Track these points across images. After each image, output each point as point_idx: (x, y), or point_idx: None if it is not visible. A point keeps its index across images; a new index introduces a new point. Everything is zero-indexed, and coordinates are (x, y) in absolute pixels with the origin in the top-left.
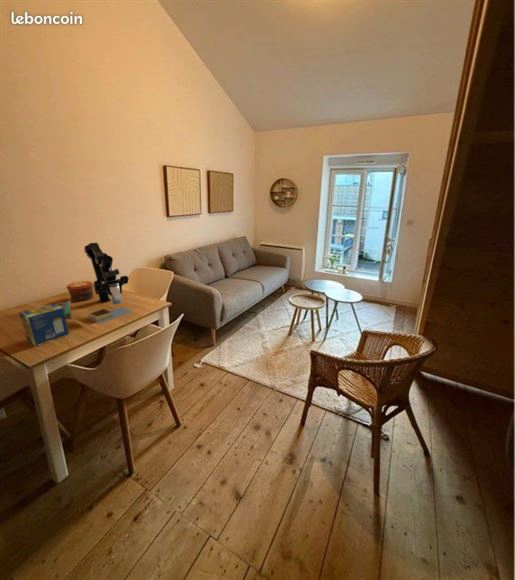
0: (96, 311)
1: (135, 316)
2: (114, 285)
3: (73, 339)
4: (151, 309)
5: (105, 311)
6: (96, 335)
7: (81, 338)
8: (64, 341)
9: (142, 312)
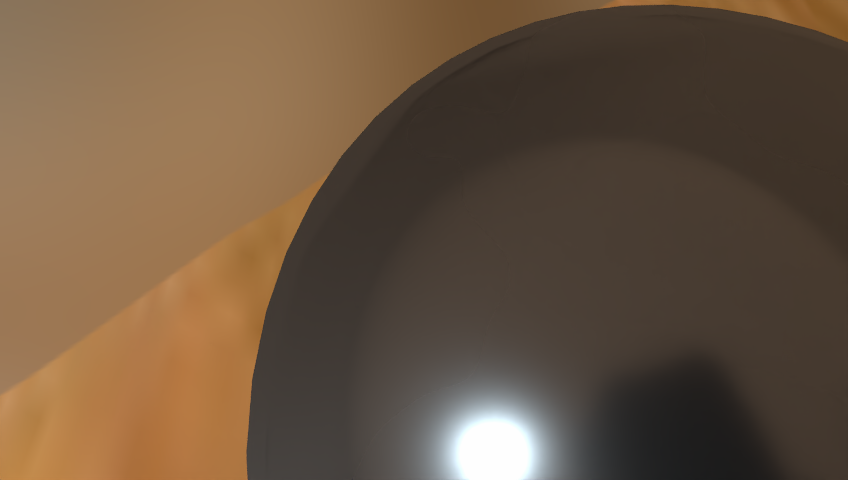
0: None
1: (289, 243)
2: (599, 37)
3: (755, 11)
4: (66, 386)
5: None
6: (606, 6)
7: (702, 4)
8: (807, 8)
9: (193, 331)
